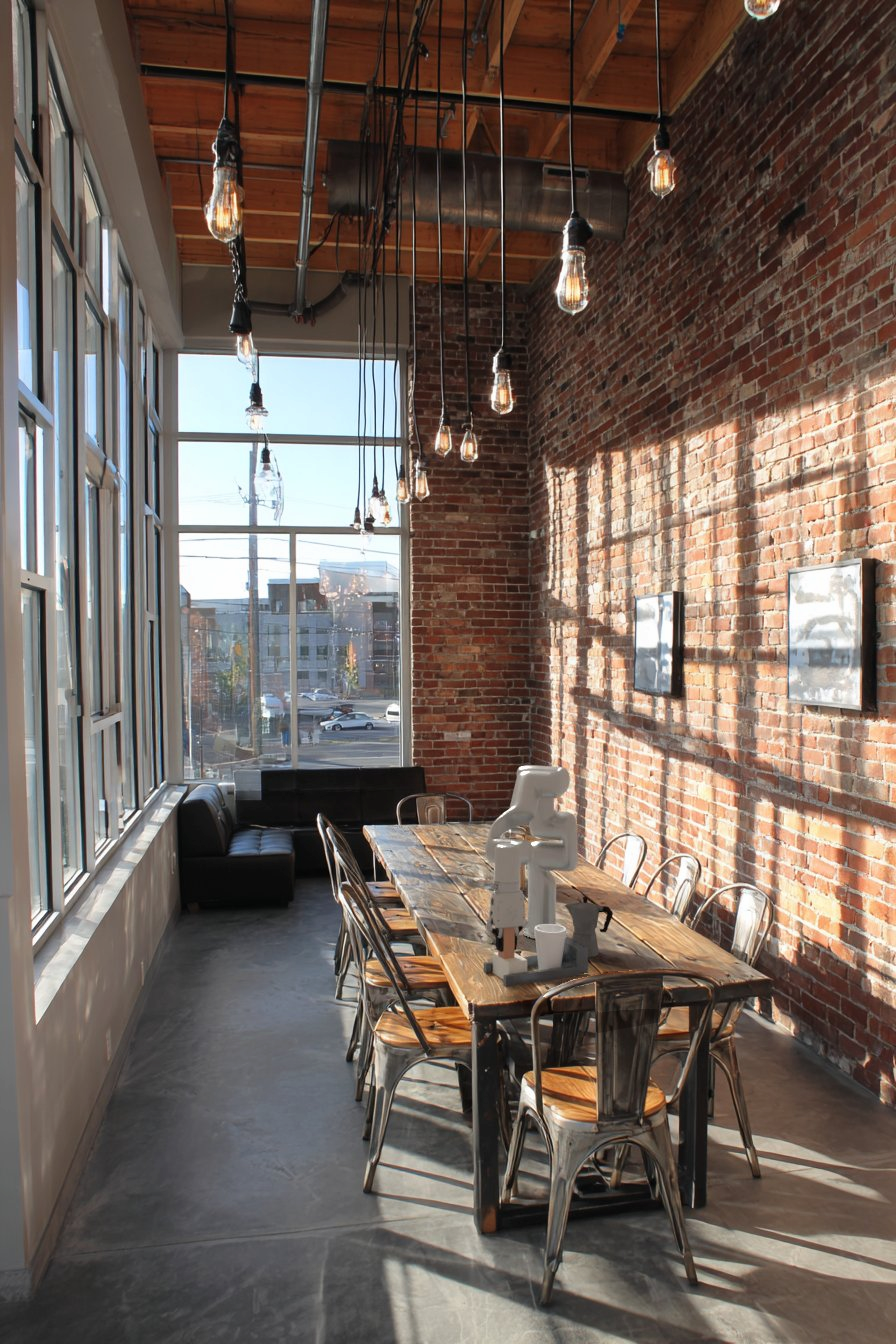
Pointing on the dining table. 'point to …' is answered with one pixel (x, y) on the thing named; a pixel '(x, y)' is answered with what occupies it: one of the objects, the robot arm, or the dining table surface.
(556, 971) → the grey frame
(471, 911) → the dining table surface
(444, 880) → the dining table surface
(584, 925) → the coffeepot
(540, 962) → the foam cup
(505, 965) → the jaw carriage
